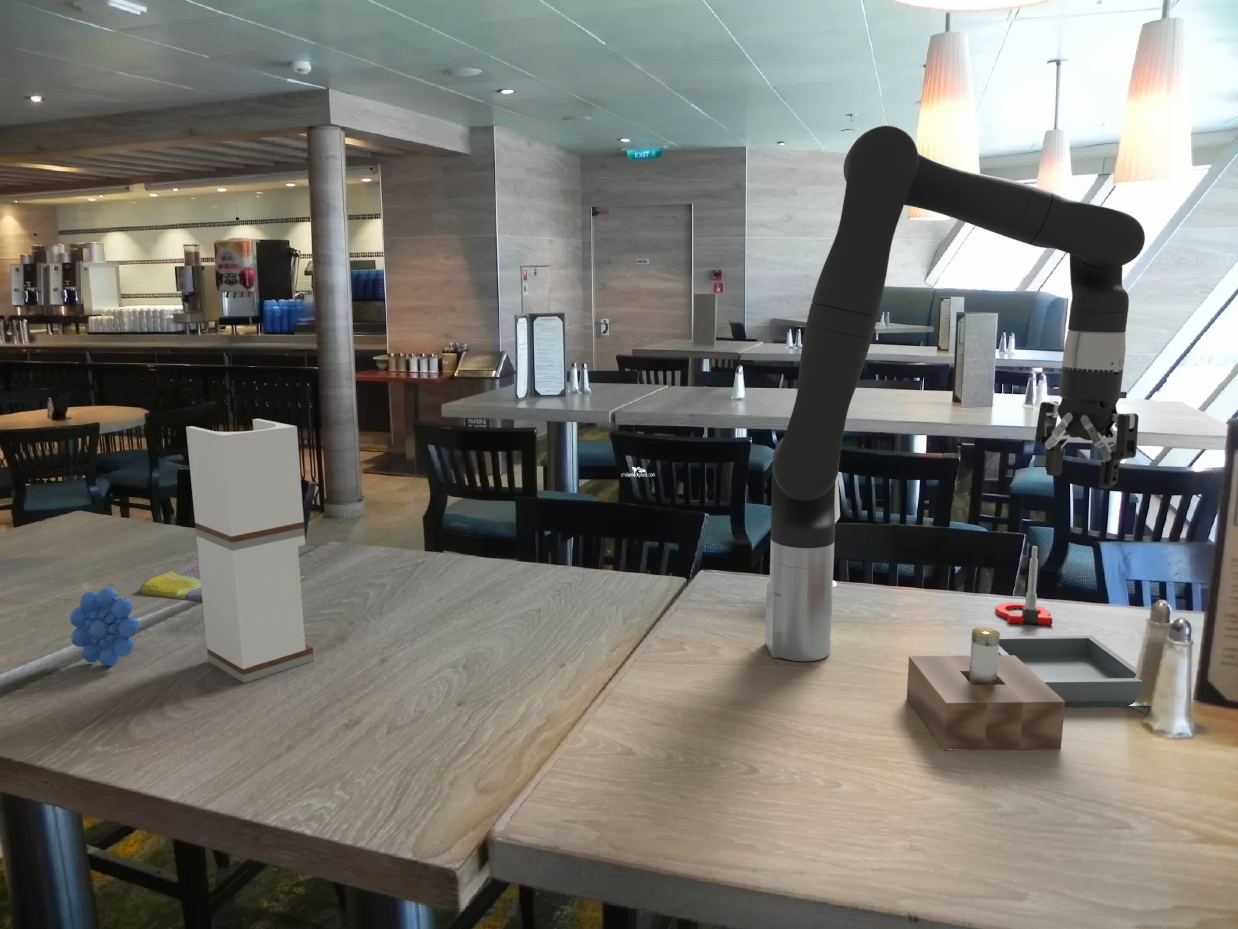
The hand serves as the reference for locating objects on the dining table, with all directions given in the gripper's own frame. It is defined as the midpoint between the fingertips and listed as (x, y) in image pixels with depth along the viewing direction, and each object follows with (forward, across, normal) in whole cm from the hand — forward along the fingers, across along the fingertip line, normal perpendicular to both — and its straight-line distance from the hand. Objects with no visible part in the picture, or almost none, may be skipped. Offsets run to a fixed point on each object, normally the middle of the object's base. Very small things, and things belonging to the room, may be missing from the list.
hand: (1079, 481), depth 131 cm
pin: (+27, +9, -24) cm, 38 cm away
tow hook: (+27, -17, +11) cm, 34 cm away
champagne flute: (+28, -45, -9) cm, 54 cm away
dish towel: (+31, -93, -108) cm, 146 cm away
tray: (+27, +5, -5) cm, 28 cm away
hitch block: (+27, +9, -24) cm, 38 cm away
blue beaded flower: (+30, -60, -124) cm, 141 cm away
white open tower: (+30, -52, -105) cm, 120 cm away
